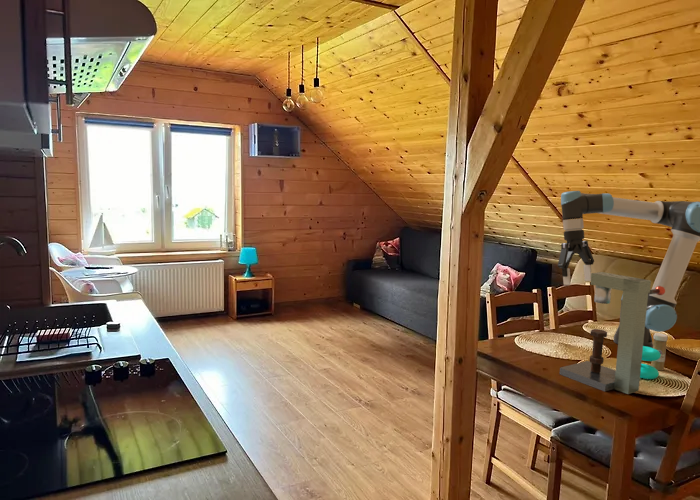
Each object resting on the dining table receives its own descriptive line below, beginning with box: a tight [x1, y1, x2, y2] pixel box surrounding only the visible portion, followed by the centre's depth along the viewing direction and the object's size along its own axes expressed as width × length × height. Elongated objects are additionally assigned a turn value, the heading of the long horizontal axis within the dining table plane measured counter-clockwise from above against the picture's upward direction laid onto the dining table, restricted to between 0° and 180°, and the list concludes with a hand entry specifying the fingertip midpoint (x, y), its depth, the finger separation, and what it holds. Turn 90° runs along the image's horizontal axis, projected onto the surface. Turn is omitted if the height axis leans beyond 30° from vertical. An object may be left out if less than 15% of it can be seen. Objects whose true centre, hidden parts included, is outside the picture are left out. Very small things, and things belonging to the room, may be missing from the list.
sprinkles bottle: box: [650, 332, 669, 371], centre depth 199 cm, size 5×5×13 cm
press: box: [559, 271, 665, 395], centre depth 186 cm, size 24×24×38 cm
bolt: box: [588, 328, 608, 373], centre depth 187 cm, size 6×5×15 cm
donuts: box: [640, 346, 661, 380], centre depth 192 cm, size 10×10×10 cm
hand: (577, 282), depth 211 cm, fingers open, 13 cm apart
